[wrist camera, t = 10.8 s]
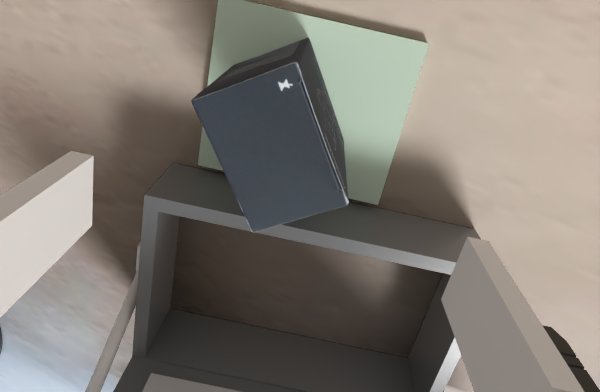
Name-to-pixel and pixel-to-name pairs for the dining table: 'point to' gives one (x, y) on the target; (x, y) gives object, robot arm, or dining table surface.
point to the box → (276, 136)
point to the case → (265, 342)
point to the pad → (331, 80)
